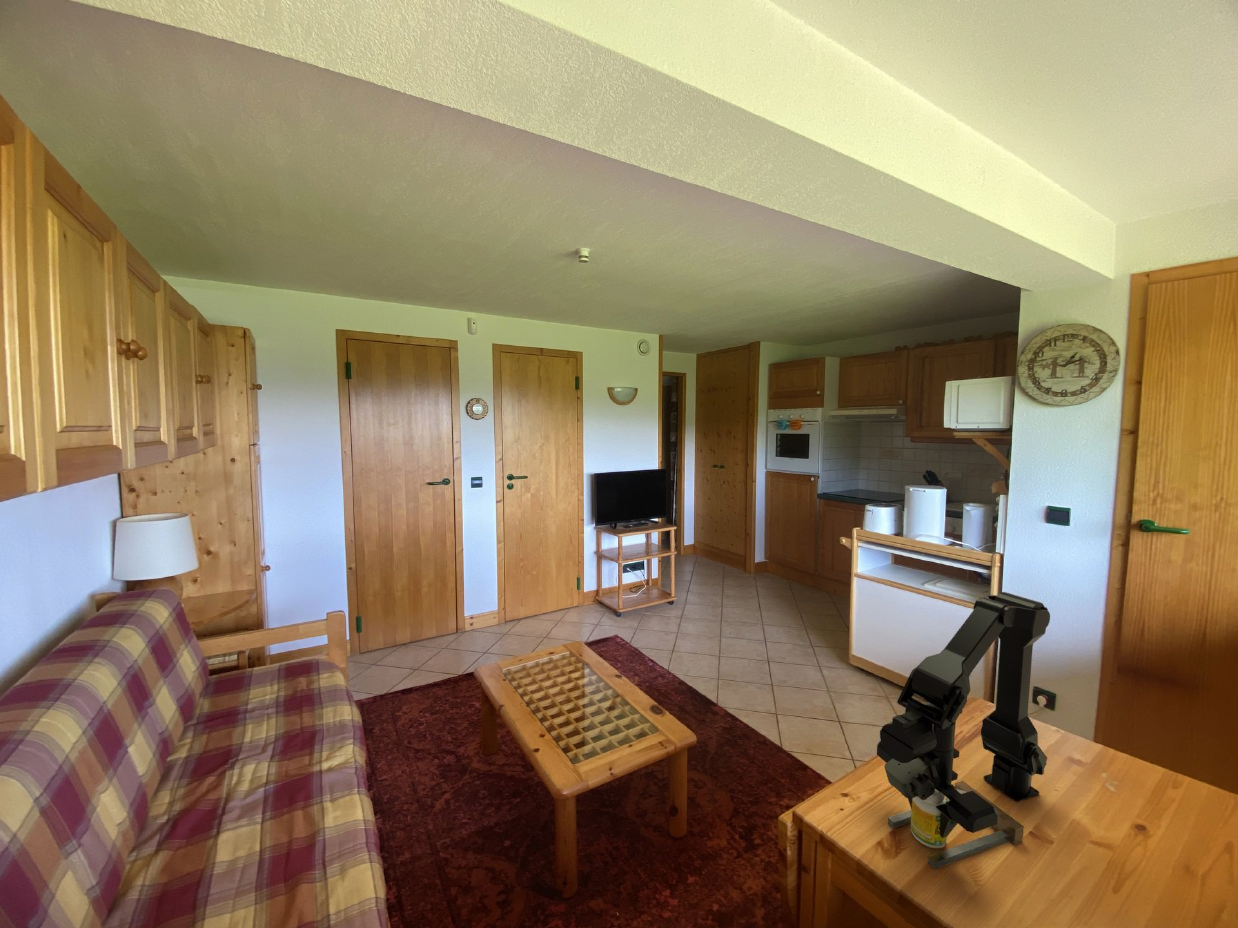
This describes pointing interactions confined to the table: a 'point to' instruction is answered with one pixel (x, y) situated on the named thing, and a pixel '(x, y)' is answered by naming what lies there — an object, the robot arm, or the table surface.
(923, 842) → the supplement bottle
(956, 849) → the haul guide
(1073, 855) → the table surface
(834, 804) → the table surface
